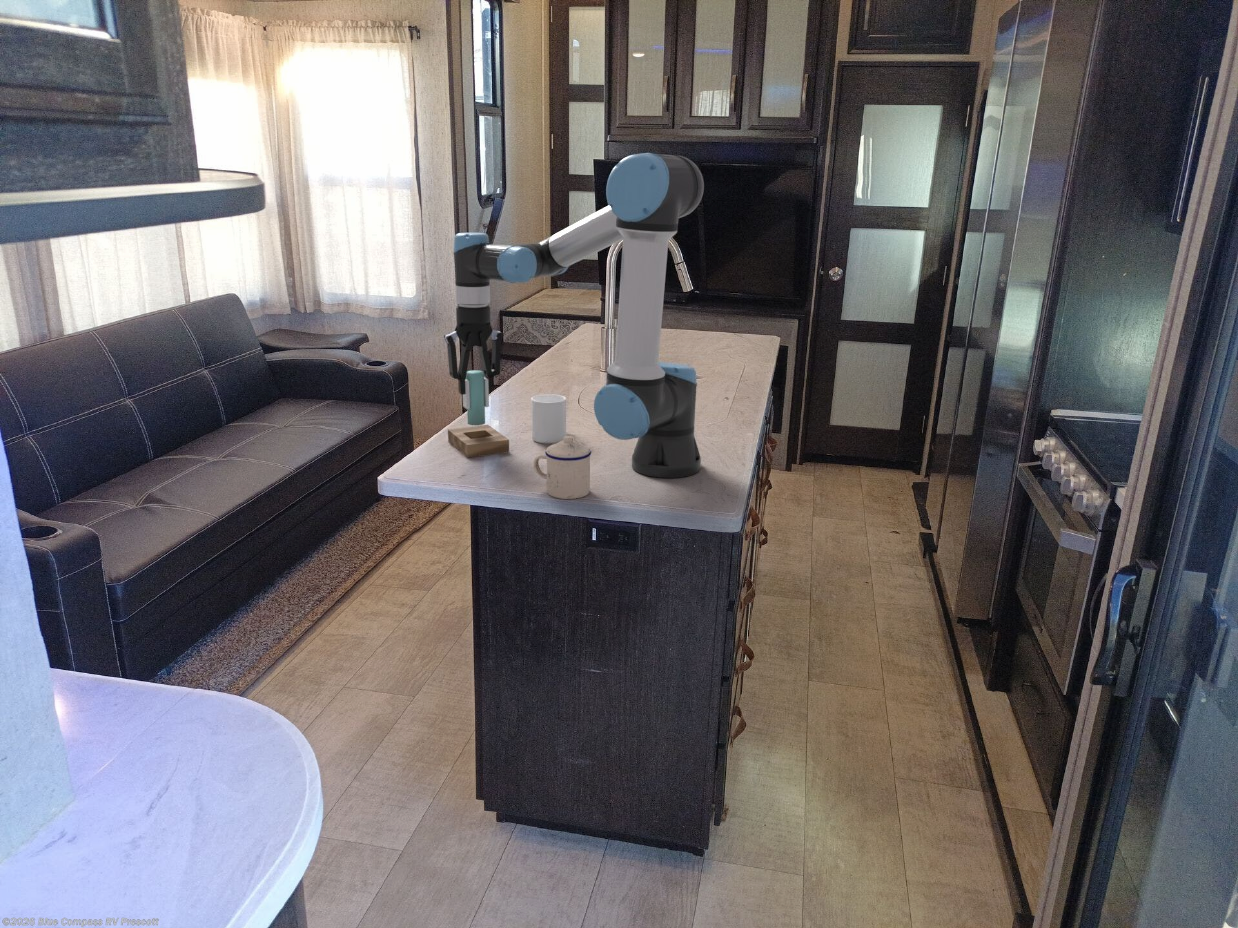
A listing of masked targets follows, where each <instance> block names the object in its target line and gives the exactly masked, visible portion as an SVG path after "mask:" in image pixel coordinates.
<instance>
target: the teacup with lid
mask: <svg viewBox="0 0 1238 928" xmlns="http://www.w3.org/2000/svg"><path fill="white" fill-rule="evenodd" d="M544 453H545V454H543V453H542V454H539V455H537V456H536V457H535V458H534V460H533V468H534V471H535V473H536V474H537V475H538V476H539V477H540V478H542V479H545V480H546V492H547V494H548V495H549V496H551V497H552V498H556V499H562V500H575V499H576V498H577V499H580V498H584V497H586V496H587V495H589V494H590V490H591V487H590V486H591V480H590V479H591V455H592V451H591V448H590V447H589V446H588V445H586V444H584V443H583V444H582V443H580V442H578V441H576V440H574V437H573V436H571V435H566V436H565V437H564V438H563V441H560V442H558V443H552V444H551V445H549V446H548V447H547V448H546V450H545V452H544ZM541 459H544V460H546V473H545V472H543V471H542V470H541V468H540V465H539V462H540V461H539V460H541Z"/></svg>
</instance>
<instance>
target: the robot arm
mask: <svg viewBox="0 0 1238 928" xmlns="http://www.w3.org/2000/svg"><path fill="white" fill-rule="evenodd" d="M606 182H607V183H606V189H605V191H606V192H605V194H606V200H607V201H606V202H607V206H605V207H602V208H601V209H599V210H597V211H595V212H593V213H591V214H590V215H587V216H585V217H584V218H582V219H580V220H579V221H576V222H574V223H573V224H571V225H569V226H567V227H565V228H563V229H562V230H560V231H558V232H556V233H555V234H553V235H551V236H549V237H546V238H544V239H543V240H541V241H539V242H530V243H520V244H492V243H490V239H489V235H488V234H487V233H484V232H459V233H456V234H455V236H454V238H453V239H454V240H453V260H454V261H453V264H454V279H455V282H454V285H455V286H454V287H455V288H454V289H455V303H456V304H457V305H456V306H455V313H456V314H455V315H456V316H455V319H456V326H455V329H454V331H452V332H451V333H449V334H448V333H445V334H444V335H443V339H444V341H445V343H446V345H447V348H446V349H447V358H448V359H447V360H448V371H449V376H450V377H451V378H453V379H454V380H457V382H458V383H457V384H458V385H457V386H458V388H457V389H458V394H459V395H462V407H463V408H464V409H466V410H467V409H470V392H469V381H468V380H466V374H467V371H468V369H469V368H468V367H469V361H470V355H471V352H472V348H474V347H477V348H478V351H479V357H480V363H481V365H482V370H483V372H484V398H485V408H488V407H490V397H489V395H490V393H489V392H493V379H495V376H499V375H501V356H502V355H501V354H502V353H501V351H502V350H501V349H502V348H501V347H502V340H503V337H504V333H503V332H501V331H500V330H495V329H493V327H492V325H491V306H490V305H488V304H490V302H491V292H490V291H491V288H490V284H491V283H490V280H491V281H499V282H507V283H510V284H518V283H519V284H526V283H528V282H530V280H531V279H536V278H537V279H538V278H544V277H555V276H558V275H561V274H564V273H565V272H566V271H567V270H568V269H569V267H570V266H572V265H574V264H575V263H578V262H580V261H582V260H584V259H587V258H588V257H590V256H592V255H594V254H596V253H598V252H600V251H603V250H604V249H606V248H608V247H611V246H612V245H614V244H617V243H619V242H621V241H622V247H621V248H622V251H621V263H620V264H621V265H620V267H621V268H620V278H619V279H620V281H619V296H618V297H619V298H618V313H617V328H616V329H617V330H616V343H615V345H616V346H615V358H614V361H613V362H612V363H611V364H610V365H609V366H608V367H607V369H606V380H605V381H606V382H605V385H604V386H602V387H601V388H600V389H599V391H598V392H597V393H596V395H595V397H594V400H593V401H594V402H593V410H594V416H595V418H596V421H597V423H598V424H599V426H601V427H602V429H603V430H604V432H605V433H606V434H608V435H609V436H610V437H612V438H614V439H618V440H621V441H622V440H623V441H629V440H633V439H637V442H636V445H635V447H634V450H633V454H632V455H631V468H632V469H633V470H634V471H635V472H637V473H639V474H642V475H643V476H644V475H645V476H649V477H653V478H654V477H655V478H664V479H667V478H668V479H671V478H672V479H673V478H674V479H675V478H683V477H689V476H693V475H695V474H697V473H699V472H700V471H701V466H702V459H701V454H700V451H699V447H698V443H697V439H696V436H695V419H696V405H697V404H696V402H697V401H696V399H697V386H698V383H697V371H696V369H695V368H694V367H692V366H690V365H685V364H680V363H672V362H663V361H662V362H661V361H660V362H659V360H660V359H659V357H660V347H661V333H662V321H663V320H662V319H663V313H664V312H663V310H664V297H665V286H666V285H665V284H666V276H667V275H666V274H667V261H668V251H669V250H668V249H669V248H668V247H669V241H670V239H671V238H673V237H674V236H675V235H676V234H677V233H678V227H679V219H680V218H683V217H686V216H687V215H690V214H691V213H692V212H694V210H696V208H697V207H698V206H699V205H700V203H701V201H702V198H703V195H704V191H705V182H704V177H703V174H702V172H701V170H700V168H699V167H698V166H697V164H696V163H694V162H693V161H692V160H690V158H687V157H685V156H682V155H678V154H658V153H650V152H646V153H643V152H642V153H636V154H631V155H627V156H626V157H624V158H622V159H621V160H620V161H619V162H618V163H617V164H615V166H614V167H613V168H612V170H611V172H610V174H609V176H608V179H607V181H606ZM457 337H458V339H459V341H460V342H461V346H460V349H461V350H460V351H461V352H460V356H459V357H460V358H459V362H458V357H457V346H456V342H457ZM490 337H491V339H492V341H491V361H490V357H489V352H488V343H487V341H488V340H489V338H490ZM458 363H459V364H458Z"/></svg>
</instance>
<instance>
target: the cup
mask: <svg viewBox="0 0 1238 928" xmlns="http://www.w3.org/2000/svg"><path fill="white" fill-rule="evenodd" d="M530 400H531V403H530V405H531V406H530V407H531V408H530V410H531V416H530V417H531V437H532V440H533V441H534V442H536V443H539V444H544V445H545V444H551V445H553V444H557V443H558V442H560V441H563V438H564V437H565V436H567V398H566V396H564V395H561V394H553V393H552V394H549V393H547V394H537V395H534V396H532V397H531V399H530Z"/></svg>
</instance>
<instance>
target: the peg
mask: <svg viewBox="0 0 1238 928" xmlns="http://www.w3.org/2000/svg"><path fill="white" fill-rule="evenodd" d="M484 377H485V375H484V371H482V370H476V369H475V370H467V374H466V380H468V381H469V392H470V409H466V410H467V411H466V412H467V413H466V414H467V424H468V425H470V426H480V425H486V410H485V409H486V407H485V398H484Z"/></svg>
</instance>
